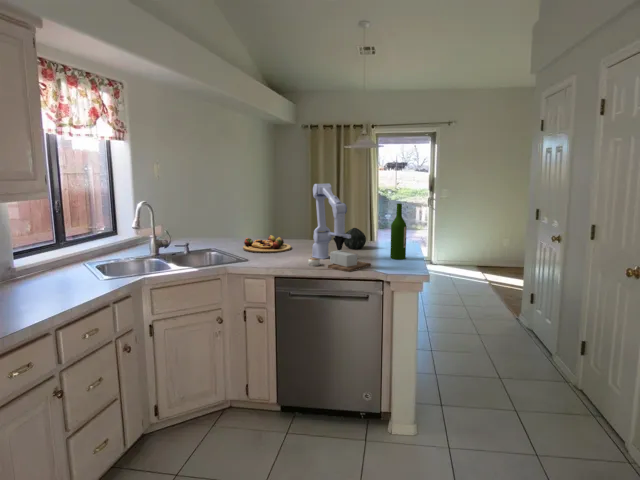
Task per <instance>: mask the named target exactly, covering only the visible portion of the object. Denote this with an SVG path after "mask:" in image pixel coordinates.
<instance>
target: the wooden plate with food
mask: <svg viewBox="0 0 640 480" xmlns="http://www.w3.org/2000/svg"><path fill="white" fill-rule="evenodd" d="M243 243H244V245H243V246H242V250H244V252H247V253H254V254H278V253H284V252H288V251H290V250H292V246H291V245H290V244H288V243H285V241H284V238H282V237H280V236H278V237H277V238H276V237H275V236H274V235H272V234H271V235H269V236H268V238H267V239H264V240H263V239H256V240H254V241H253V239H251V238H249V237H246V238H245V240H244V242H243Z"/></svg>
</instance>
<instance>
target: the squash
mask: <svg viewBox="0 0 640 480" xmlns="http://www.w3.org/2000/svg"><path fill="white" fill-rule="evenodd" d="M345 233H346V234H350V235H351V238H346V239H345V241H344V243H343V245H344V246H345V247H347V248H349V249H352V250H354V249H355V250H360V249H362V248H363V247H364V246H365V245H366V242H367V237H366V235H365V233H364V232H363V231H362V230H361V229H359V228H357V227H352V228H351V229H350V230H347V232H346V231H345Z"/></svg>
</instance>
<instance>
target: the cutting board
mask: <svg viewBox="0 0 640 480" xmlns="http://www.w3.org/2000/svg"><path fill="white" fill-rule="evenodd" d="M370 265H371V266H372V263H370V262H364V261H360V260H359V261H358V260H357V265H355V266H350V267H345V266H341V265H337V264H333V263H330V264H328V265H327V269H331V268H332V270H337V271H342V272H348V273H350V272H353V271H357V270H360V269H364V268H367V267H370ZM366 266H367V267H366ZM363 267H364V268H363ZM359 268H360V269H359ZM356 269H357V270H356Z"/></svg>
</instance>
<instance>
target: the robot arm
mask: <svg viewBox="0 0 640 480" xmlns="http://www.w3.org/2000/svg"><path fill="white" fill-rule="evenodd" d="M332 189H333V188H332V185H331V183H314V184H313V187H312V195H313V198H314V199H315V205H316V218H317V227H316V228H315V229H314V230H313V236H312V237H313V241H314V243H313V244H312V247H311V248H312V256H311V258H319V259H320V260H325V259H329V258H330V255H329V244H330V242H331V241H332V238H333V241H334V243H335V247H336V249H337V250H336V251H339V250H342V251H343V246H344V241H345V239H346V238H351V235H350V234H346V231H345V230H346V229H345V227H346V224H345V223H346V214H347V212H348V207H347V205H346V203H344V202H342V201H341V199H339V197H338V196H337V195H334V193H333V190H332ZM325 199H328V204H329V205H330V206H331V208H332V214H333V215H332V216H333V218H334V221H333V222H334V224H333V225H334V228H333V230H334V232H333V231H331V229H330V228H329V227H328V226H327V221H326V220H327V219H326V206H325Z"/></svg>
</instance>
